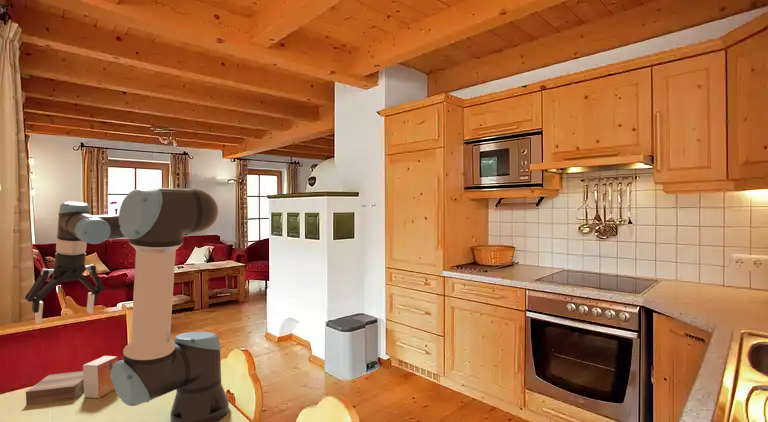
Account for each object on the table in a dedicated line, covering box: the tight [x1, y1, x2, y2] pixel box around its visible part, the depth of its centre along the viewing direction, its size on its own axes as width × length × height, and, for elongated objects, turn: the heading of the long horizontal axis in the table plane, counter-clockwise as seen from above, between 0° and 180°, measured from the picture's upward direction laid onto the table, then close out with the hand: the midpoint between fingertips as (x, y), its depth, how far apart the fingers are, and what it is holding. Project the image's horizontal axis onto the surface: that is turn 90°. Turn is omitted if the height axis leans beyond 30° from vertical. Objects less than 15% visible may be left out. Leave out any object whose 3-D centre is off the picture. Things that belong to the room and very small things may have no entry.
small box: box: [82, 355, 119, 399], centre depth 132 cm, size 8×6×10 cm
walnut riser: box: [25, 370, 84, 406], centre depth 133 cm, size 13×13×4 cm
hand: (65, 317), depth 129 cm, fingers open, 13 cm apart
